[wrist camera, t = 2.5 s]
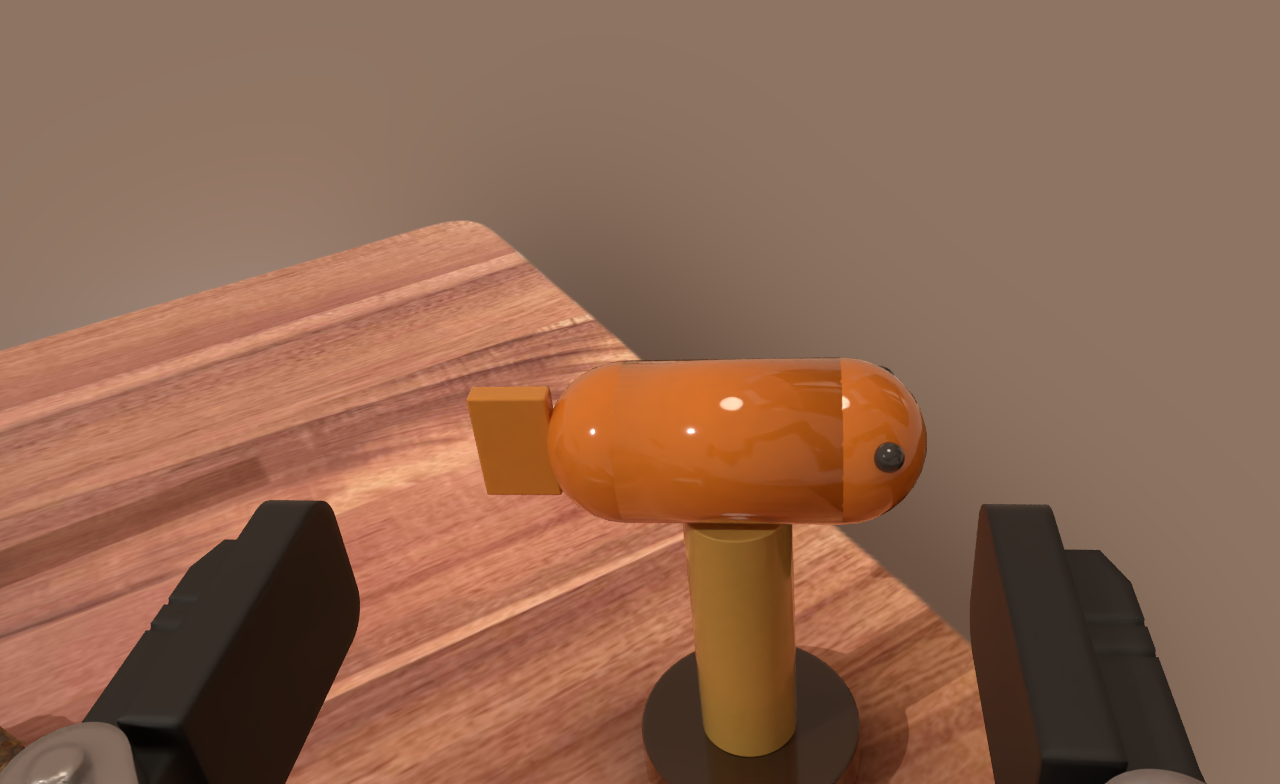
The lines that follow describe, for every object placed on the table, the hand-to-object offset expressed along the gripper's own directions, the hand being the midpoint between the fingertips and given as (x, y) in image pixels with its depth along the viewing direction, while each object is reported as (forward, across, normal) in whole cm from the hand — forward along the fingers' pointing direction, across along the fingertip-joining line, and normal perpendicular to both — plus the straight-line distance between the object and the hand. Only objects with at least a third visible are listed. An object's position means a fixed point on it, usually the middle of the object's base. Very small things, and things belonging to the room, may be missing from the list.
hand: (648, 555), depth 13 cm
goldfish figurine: (+11, 0, -18) cm, 21 cm away
